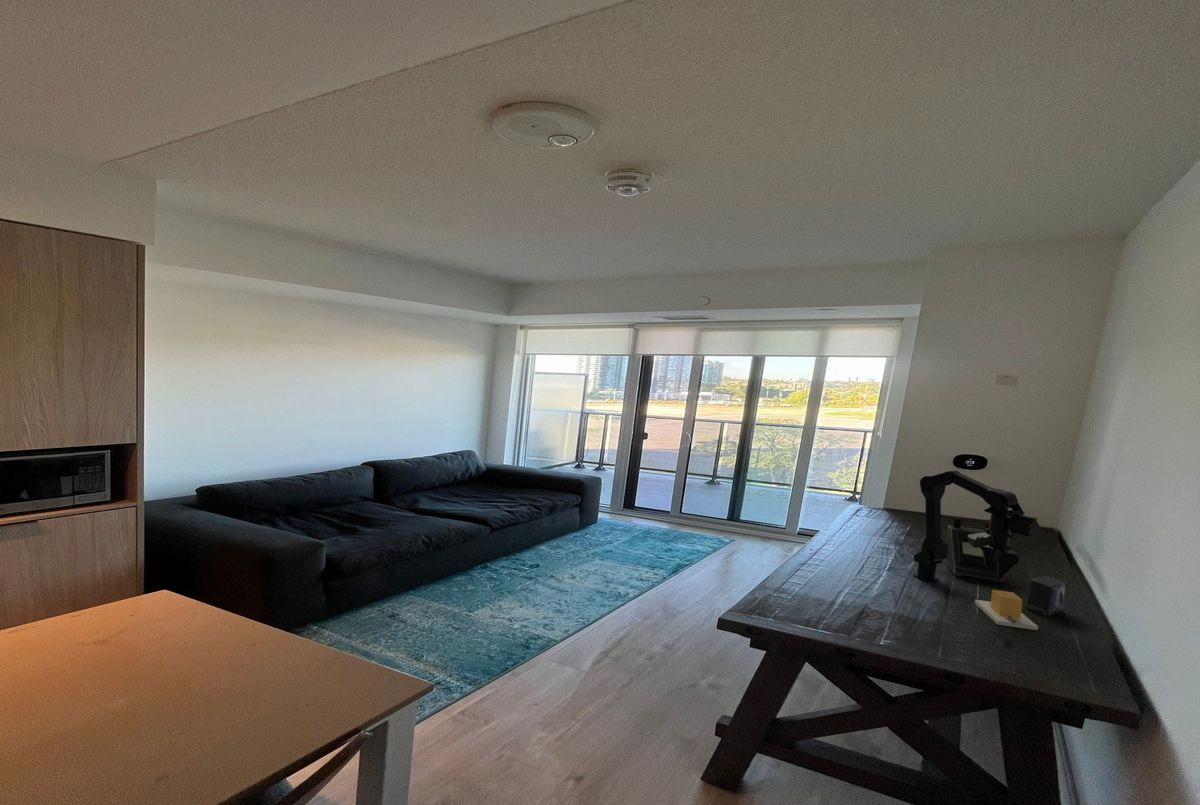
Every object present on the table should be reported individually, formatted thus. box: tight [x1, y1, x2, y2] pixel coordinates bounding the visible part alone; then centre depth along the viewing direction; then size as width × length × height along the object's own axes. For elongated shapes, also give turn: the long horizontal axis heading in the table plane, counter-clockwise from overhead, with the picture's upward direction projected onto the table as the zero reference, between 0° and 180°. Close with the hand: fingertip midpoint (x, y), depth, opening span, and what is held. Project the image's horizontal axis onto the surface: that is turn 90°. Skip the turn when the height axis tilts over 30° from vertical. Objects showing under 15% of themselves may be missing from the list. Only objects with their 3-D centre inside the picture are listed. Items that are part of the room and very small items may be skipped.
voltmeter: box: [944, 517, 1005, 583], centre depth 212 cm, size 16×16×20 cm
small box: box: [1025, 575, 1067, 617], centre depth 181 cm, size 11×6×10 cm, turn 118°
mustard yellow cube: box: [990, 589, 1023, 618], centre depth 175 cm, size 6×6×6 cm
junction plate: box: [974, 599, 1039, 631], centre depth 175 cm, size 16×11×5 cm, turn 166°
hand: (993, 572), depth 182 cm, fingers open, 9 cm apart
